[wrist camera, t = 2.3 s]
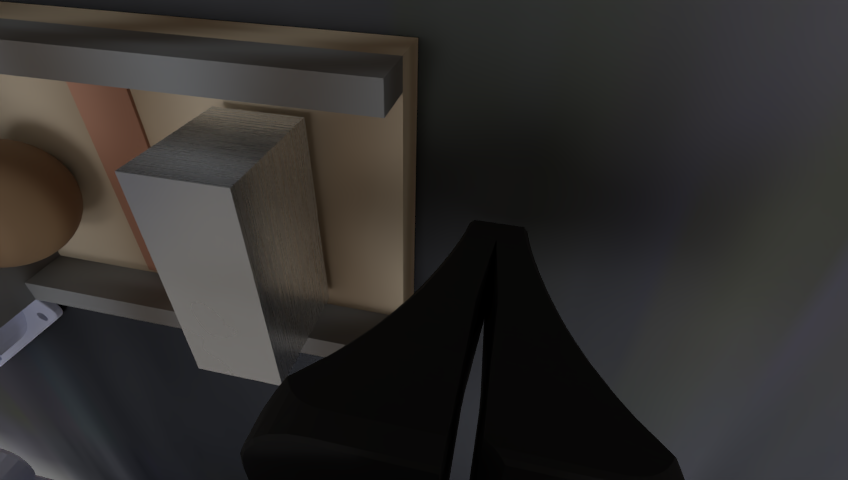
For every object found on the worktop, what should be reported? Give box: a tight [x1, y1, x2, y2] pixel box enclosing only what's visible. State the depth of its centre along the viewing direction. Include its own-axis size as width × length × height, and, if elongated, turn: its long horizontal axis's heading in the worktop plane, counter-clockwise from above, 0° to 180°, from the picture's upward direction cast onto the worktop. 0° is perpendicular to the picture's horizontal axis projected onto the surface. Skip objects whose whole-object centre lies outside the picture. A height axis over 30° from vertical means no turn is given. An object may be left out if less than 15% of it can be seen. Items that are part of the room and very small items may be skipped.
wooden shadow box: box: [0, 1, 418, 357], centre depth 13 cm, size 15×9×5 cm, turn 90°
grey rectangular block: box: [115, 106, 329, 385], centre depth 12 cm, size 2×6×3 cm, turn 179°
